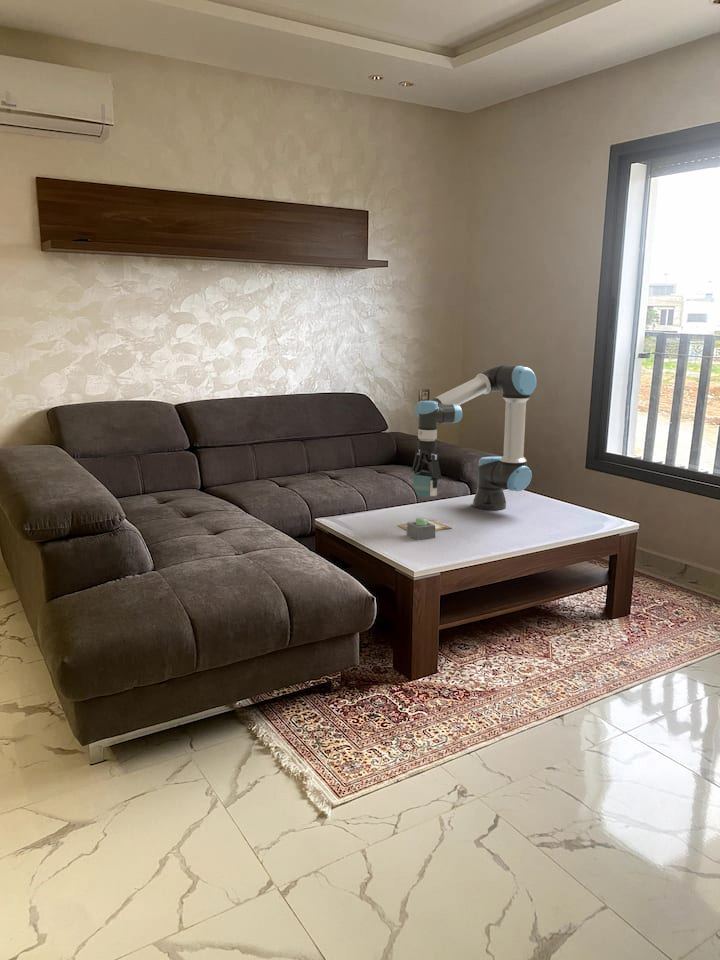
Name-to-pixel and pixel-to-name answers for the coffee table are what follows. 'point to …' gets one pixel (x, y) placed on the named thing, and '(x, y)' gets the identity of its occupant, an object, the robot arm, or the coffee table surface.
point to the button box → (420, 531)
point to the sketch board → (437, 524)
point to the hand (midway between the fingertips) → (425, 492)
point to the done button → (421, 521)
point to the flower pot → (422, 483)
